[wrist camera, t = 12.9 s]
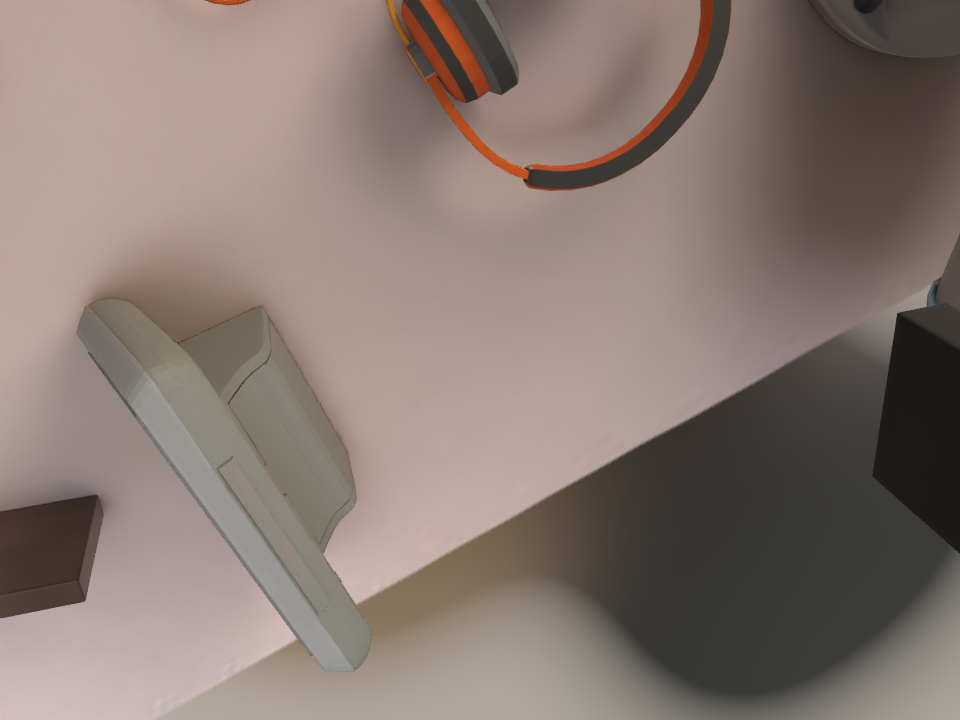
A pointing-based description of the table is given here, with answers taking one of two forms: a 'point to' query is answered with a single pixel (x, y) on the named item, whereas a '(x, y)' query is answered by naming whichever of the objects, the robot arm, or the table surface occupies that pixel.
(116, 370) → the digital clock
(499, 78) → the headphones
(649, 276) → the table surface
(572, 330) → the table surface
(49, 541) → the walnut rack
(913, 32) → the robot arm
